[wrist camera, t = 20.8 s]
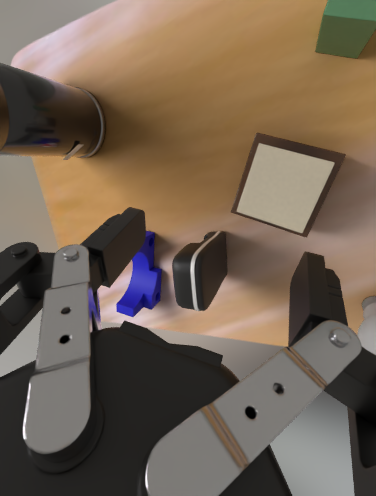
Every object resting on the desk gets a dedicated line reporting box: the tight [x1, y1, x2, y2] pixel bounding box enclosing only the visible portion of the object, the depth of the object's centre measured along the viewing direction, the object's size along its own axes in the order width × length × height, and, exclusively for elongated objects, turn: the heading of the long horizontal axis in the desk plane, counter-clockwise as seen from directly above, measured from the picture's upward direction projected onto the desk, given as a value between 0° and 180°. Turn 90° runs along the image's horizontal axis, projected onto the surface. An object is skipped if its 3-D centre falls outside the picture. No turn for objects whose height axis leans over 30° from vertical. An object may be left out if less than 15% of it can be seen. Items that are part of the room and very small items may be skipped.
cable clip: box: [117, 231, 162, 317], centre depth 39 cm, size 12×4×6 cm, turn 176°
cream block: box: [237, 143, 335, 233], centre depth 26 cm, size 7×7×3 cm
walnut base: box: [231, 133, 346, 237], centre depth 29 cm, size 9×9×4 cm
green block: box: [315, 0, 376, 58], centre depth 21 cm, size 4×4×8 cm
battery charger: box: [172, 231, 227, 311], centre depth 32 cm, size 7×4×11 cm, turn 6°
